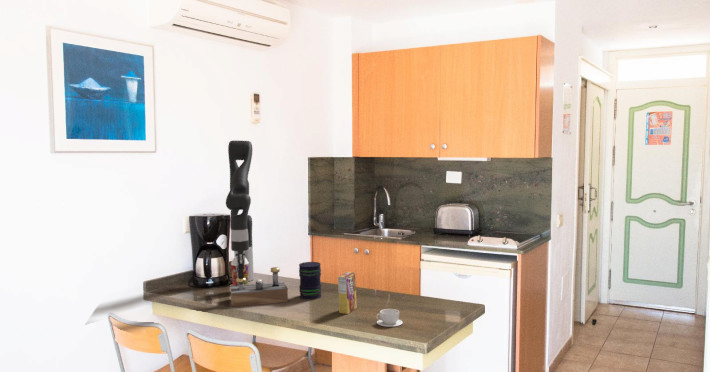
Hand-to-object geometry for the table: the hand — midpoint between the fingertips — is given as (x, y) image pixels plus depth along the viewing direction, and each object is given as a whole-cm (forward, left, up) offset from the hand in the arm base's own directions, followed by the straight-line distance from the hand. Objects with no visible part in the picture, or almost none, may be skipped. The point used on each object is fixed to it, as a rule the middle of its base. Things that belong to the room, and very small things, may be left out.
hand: (241, 278), depth 251 cm
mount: (0, +7, -11) cm, 13 cm away
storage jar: (+1, +30, -11) cm, 32 cm away
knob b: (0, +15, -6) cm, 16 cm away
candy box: (+27, +41, -11) cm, 51 cm away
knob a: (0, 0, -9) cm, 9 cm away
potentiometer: (+4, +7, -5) cm, 10 cm away
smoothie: (-18, 0, -11) cm, 21 cm away
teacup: (+48, +53, -11) cm, 72 cm away
